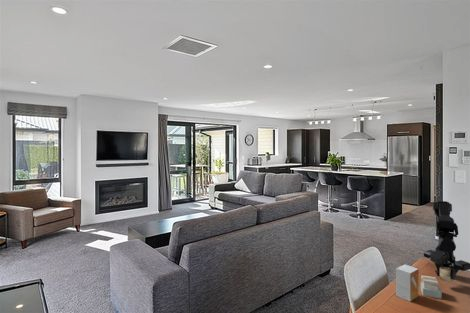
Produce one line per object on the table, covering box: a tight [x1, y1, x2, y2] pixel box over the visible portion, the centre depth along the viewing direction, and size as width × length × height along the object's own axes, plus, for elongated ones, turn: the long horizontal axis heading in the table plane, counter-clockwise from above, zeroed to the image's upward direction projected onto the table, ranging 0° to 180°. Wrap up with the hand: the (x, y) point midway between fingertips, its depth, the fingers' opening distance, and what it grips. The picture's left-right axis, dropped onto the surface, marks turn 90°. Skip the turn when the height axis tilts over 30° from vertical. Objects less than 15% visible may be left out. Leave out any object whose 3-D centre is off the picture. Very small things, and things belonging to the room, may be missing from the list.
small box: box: [395, 263, 419, 302], centre depth 126 cm, size 8×6×13 cm
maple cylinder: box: [439, 267, 454, 282], centre depth 133 cm, size 5×5×5 cm
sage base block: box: [420, 281, 443, 299], centre depth 128 cm, size 7×7×4 cm
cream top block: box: [421, 275, 439, 290], centre depth 128 cm, size 6×6×4 cm
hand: (446, 276), depth 133 cm, fingers closed on maple cylinder, 5 cm apart
